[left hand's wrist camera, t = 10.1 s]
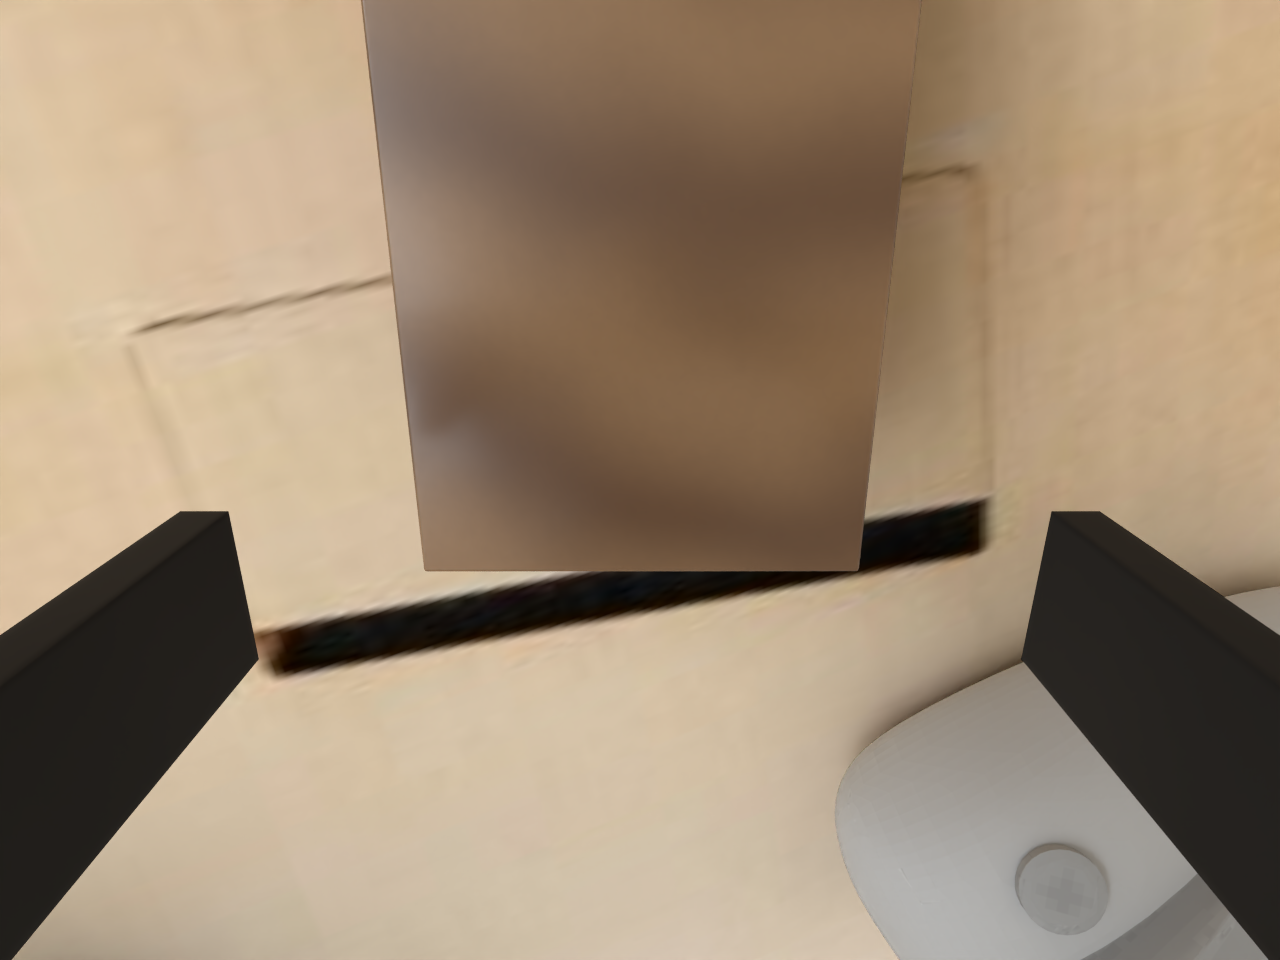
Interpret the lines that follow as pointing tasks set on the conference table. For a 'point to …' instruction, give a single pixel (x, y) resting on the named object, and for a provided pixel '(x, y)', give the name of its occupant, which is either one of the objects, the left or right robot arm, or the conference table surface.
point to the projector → (1021, 837)
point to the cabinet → (641, 273)
